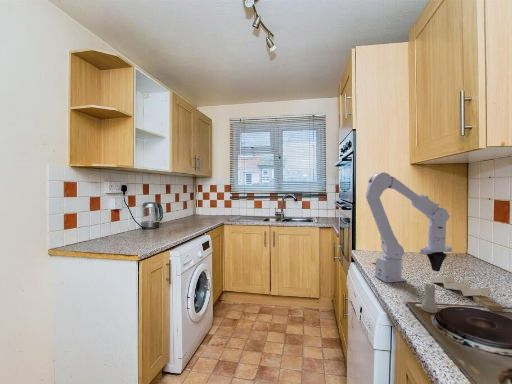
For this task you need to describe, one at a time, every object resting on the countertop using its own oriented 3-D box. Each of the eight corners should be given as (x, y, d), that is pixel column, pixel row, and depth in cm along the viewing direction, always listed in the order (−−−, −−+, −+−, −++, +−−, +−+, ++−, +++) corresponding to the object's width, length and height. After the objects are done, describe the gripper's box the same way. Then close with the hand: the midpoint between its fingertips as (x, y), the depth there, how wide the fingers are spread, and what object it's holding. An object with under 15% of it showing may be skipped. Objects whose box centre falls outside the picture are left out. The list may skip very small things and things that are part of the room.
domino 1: (440, 281, 108) (455, 282, 101) (431, 282, 107) (445, 282, 101) (439, 276, 108) (453, 276, 102) (430, 277, 108) (444, 277, 101)
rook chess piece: (441, 312, 83) (442, 287, 83) (429, 314, 82) (430, 288, 82) (429, 306, 87) (430, 281, 87) (417, 307, 86) (418, 283, 86)
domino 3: (472, 295, 95) (491, 293, 89) (463, 296, 94) (481, 294, 88) (470, 289, 96) (489, 287, 90) (461, 290, 95) (479, 288, 89)
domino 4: (485, 301, 91) (501, 312, 84) (472, 301, 92) (487, 311, 85) (486, 296, 91) (502, 305, 84) (473, 295, 92) (487, 305, 85)
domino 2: (453, 287, 102) (470, 289, 96) (444, 288, 102) (460, 290, 95) (452, 281, 103) (469, 283, 96) (443, 282, 102) (459, 284, 95)
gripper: (440, 233, 113) (439, 265, 114) (414, 236, 109) (413, 269, 110) (457, 237, 107) (456, 271, 107) (430, 240, 102) (429, 275, 103)
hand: (435, 270), depth 108 cm, fingers closed
